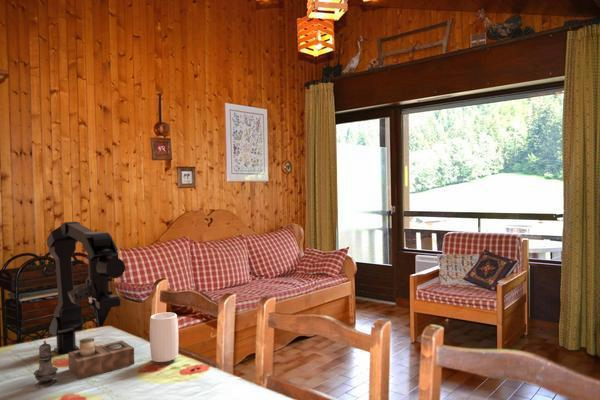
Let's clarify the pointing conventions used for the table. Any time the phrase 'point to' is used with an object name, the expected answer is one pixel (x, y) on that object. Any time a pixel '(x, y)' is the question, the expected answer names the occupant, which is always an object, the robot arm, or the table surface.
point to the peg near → (87, 347)
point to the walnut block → (101, 360)
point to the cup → (164, 336)
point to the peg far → (114, 347)
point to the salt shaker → (45, 367)
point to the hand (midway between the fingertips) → (100, 326)
